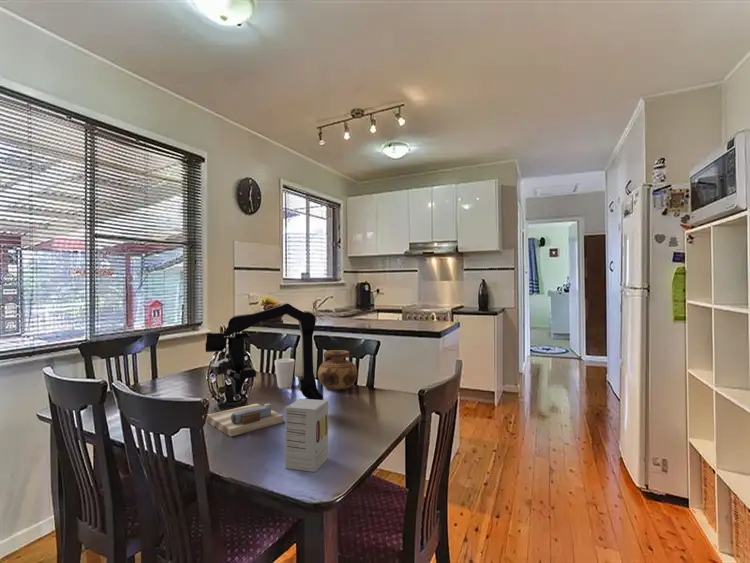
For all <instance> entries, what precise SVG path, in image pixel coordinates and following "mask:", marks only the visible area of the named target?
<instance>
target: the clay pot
mask: <svg viewBox="0 0 750 563" xmlns="http://www.w3.org/2000/svg"><path fill="white" fill-rule="evenodd" d="M323 357H324V360H323V362H322V363H321V364H320V365H319V368H318V371H317V377H318V380H319V382H320V384H321V385H322V386H323V387H324V388H326V389H328V390H332V391H333V390H334V391H342V390H341V389H343V390H347V389H349V388H351V387H352V386H353V385H354V384H355V382H356V380H357V376H358V368H357V366H356V365H355V363H353V362H352V361H350V360H347V359H344V358H349V357H350V351H348V350H344V349H340V350H339V349H338V350H337V349H333V350H332V349H330V350H326V351H324V353H323Z"/></svg>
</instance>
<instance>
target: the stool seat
mask: <svg viewBox="0 0 750 563" xmlns="http://www.w3.org/2000/svg"><path fill="white" fill-rule="evenodd" d="M262 406H263V405H261V404H259V403H257V402H256V403H252V404H248V405H245V406H239V407H234V408H232V409H231V408H230V409H226V410H222V411H218V412H214V413H209V414H207V415H208V416H207V422H208V423H207V422H206V423H207V424H209V425H211V426H212V427H214V428H215V427H216V428H215V429H217V430H219V431H220V430H221V431H220V432H222V433H223V432H224V433H223V434H225V435H227V436H228V435H229V437H230V436H231V437H233V436H239V435H241V434H246V433H249V432H252V431H256V430H259V429H262V428H266V427H270V426H273V425H277V424H280V423H281V424H282V423H284V414H282V413H279V412H277V411H274V410H273V409H271V415H269V416H265V417H260V421H257V422H253V423H250V424H246V425H243V424H241V422H240V423H235V422H234V423H232V421H231V415H232V414H233V413H235V412H240V411H244V410H249V409H253V408H258V407H262Z"/></svg>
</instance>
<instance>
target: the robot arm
mask: <svg viewBox="0 0 750 563" xmlns="http://www.w3.org/2000/svg"><path fill="white" fill-rule="evenodd" d="M285 315H287V316H290V317H292V318H293V319H295V320H296V321H298V326H299V330H300V333H301V359H302V360H301V362H302V363H301V364H302V372H301V376H300V375H299V376H297V380H298V384H297V387H298V390H299V391H300V392H301V394H302V396H303V397H304V399H314V400H324V399H323V398H324V396H323V394H322V392H320V390H319V389H318V388H317V383H316V382H317V380H316V378H315V373H314V353H313V352H314V350H313V349H314V347H313V345H314V343H313V341H314V340H313V334H314V331H315V328H316V327H315V326H316V316H315V315H314V313H312V312H309V311H307V310H305V311H302V310H300V309H298V308H296V307H294V306H293V305H291V304H290V303H282V304H281V305H278V306H274V307H271V308H268V309H264V310H261V311H258V312H254V313H246V314H238V315H233V316H231V317H230V319H229V320H228V323H227V327H226V328H225V329H224V330H223V332H206V340H205V341H206V342H205V353H217V352H218V353H221V352H224V350H225V349H227V353H225V356H224V358H223V359H220V360H218V361H216V362H214V363H213V364H211V365H210V366H211V369H212V371H213V374H214V375H215V374H216V375H217V376H221V375H223V373H225V372H226V374H224V375H225V377H227V379H229V381H230V383H231V387H232V391H233V393H234V395H238V394H239V393H240V392H241V389H242V387H243V385H244V383H245V382H246V380H247V379H249V378H256V377H257V370H256V369H254V368H253V367H248V365H247V364H246V357H248V353H247V352H246V339H250V338H251V334H249V333H248V332H247V329H249V328H251V327H252V326H254V325H257V324H260V323H262V322H266V321H268V320H273V319H276V318H279V317H282V316H285ZM243 331H244V332H243ZM241 332H242V333H241ZM233 334H234V335H233ZM227 344H228V345H227ZM227 347H228V348H227Z"/></svg>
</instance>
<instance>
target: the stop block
mask: <svg viewBox="0 0 750 563" xmlns="http://www.w3.org/2000/svg"><path fill="white" fill-rule="evenodd" d="M257 421H260V412H259V411H255V412H251V413H247V414H243V415H241V424H243V425H246V424H250V423H253V422H257Z"/></svg>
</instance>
